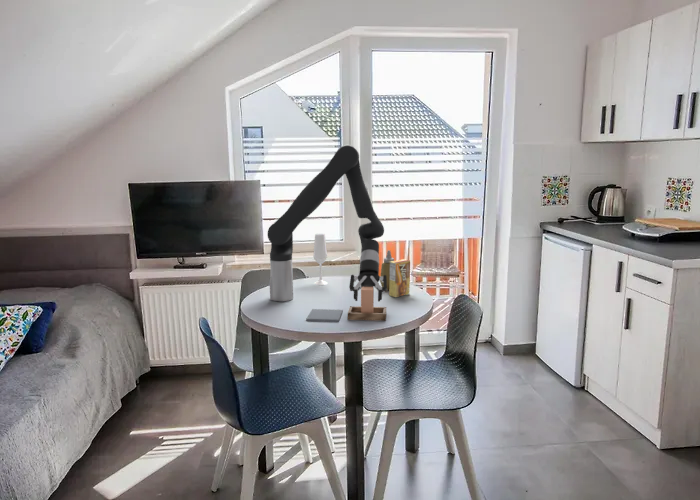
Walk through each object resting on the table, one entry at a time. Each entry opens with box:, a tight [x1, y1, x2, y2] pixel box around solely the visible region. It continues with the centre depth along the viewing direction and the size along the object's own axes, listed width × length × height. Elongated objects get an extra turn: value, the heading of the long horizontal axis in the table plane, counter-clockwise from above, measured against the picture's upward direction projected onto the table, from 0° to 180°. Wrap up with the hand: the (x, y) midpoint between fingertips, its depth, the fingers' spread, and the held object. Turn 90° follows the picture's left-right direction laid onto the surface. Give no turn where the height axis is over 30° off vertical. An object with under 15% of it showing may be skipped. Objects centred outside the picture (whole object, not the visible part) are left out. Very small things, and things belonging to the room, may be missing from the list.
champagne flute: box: [313, 233, 328, 286], centre depth 225 cm, size 7×7×24 cm
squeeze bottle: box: [379, 249, 395, 291], centre depth 215 cm, size 8×8×18 cm
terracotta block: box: [360, 286, 375, 313], centre depth 176 cm, size 4×4×11 cm
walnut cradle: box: [347, 305, 387, 322], centre depth 177 cm, size 14×9×2 cm, turn 84°
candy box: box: [388, 258, 411, 298], centre depth 205 cm, size 9×4×15 cm, turn 129°
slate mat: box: [305, 308, 343, 323], centre depth 177 cm, size 12×12×1 cm
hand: (367, 300), depth 175 cm, fingers open, 8 cm apart
